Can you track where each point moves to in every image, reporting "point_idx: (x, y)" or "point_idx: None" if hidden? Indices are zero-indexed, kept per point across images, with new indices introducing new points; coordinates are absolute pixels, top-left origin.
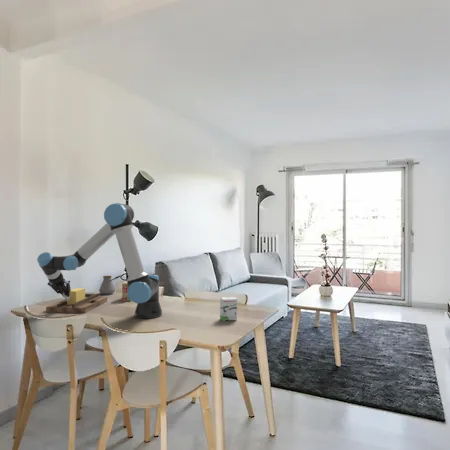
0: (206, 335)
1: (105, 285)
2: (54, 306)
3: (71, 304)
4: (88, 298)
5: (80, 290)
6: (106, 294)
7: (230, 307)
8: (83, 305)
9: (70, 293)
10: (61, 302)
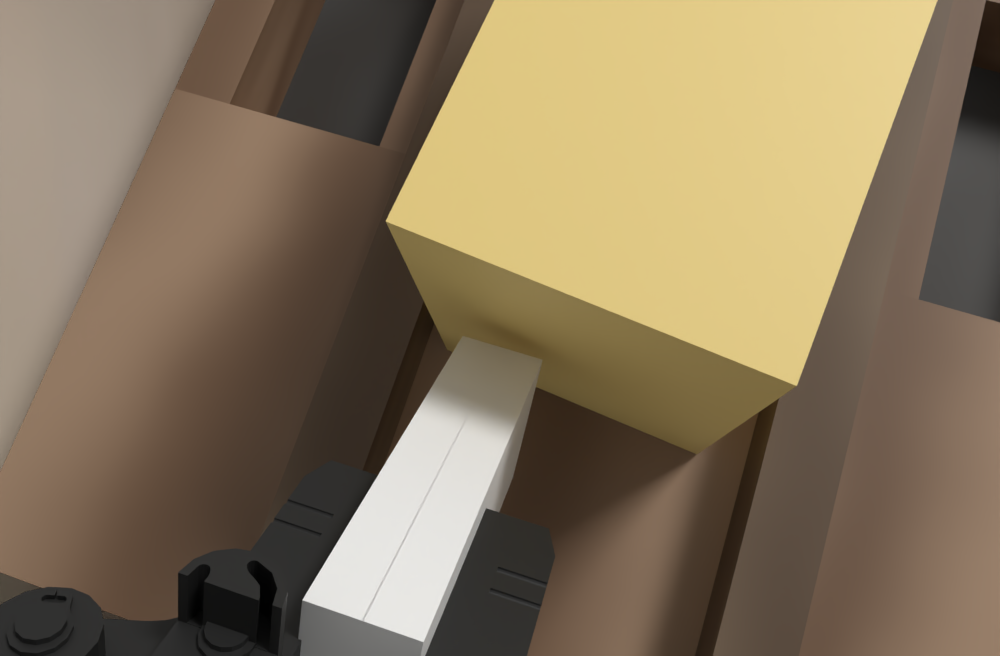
0: None
1: None
2: (163, 552)
3: (569, 400)
4: (949, 1)
5: (903, 86)
6: None
7: None
8: (930, 596)
9: (540, 309)
10: (305, 455)
